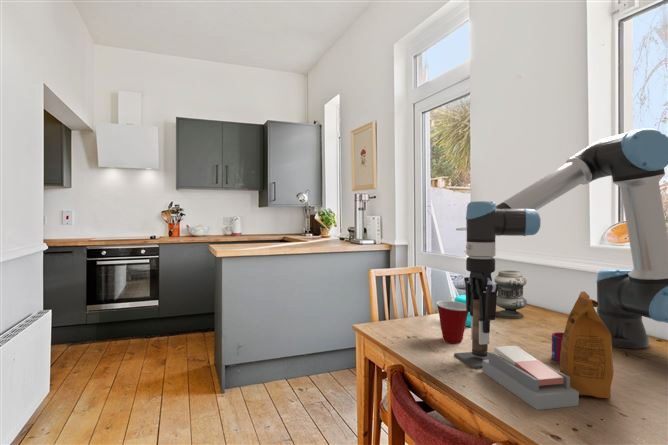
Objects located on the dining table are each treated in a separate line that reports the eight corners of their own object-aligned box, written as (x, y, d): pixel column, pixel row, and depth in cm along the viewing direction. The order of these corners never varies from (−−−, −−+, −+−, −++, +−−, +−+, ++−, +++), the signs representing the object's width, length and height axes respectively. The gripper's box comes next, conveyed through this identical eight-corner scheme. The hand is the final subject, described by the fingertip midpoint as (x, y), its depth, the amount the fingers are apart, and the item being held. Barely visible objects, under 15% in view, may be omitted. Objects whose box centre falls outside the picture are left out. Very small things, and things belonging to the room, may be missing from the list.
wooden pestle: (482, 351, 109) (483, 298, 109) (490, 356, 105) (491, 301, 105) (469, 352, 108) (470, 299, 108) (477, 357, 104) (478, 302, 104)
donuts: (486, 300, 138) (458, 299, 138) (486, 327, 138) (458, 327, 138) (477, 294, 148) (451, 294, 148) (477, 320, 148) (451, 320, 148)
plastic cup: (471, 348, 117) (471, 308, 117) (434, 344, 120) (434, 306, 120) (470, 337, 127) (471, 301, 127) (437, 334, 131) (437, 299, 130)
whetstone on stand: (517, 368, 101) (517, 347, 101) (578, 405, 81) (578, 379, 81) (482, 371, 99) (482, 350, 99) (536, 410, 80) (537, 383, 80)
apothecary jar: (502, 310, 164) (503, 268, 163) (532, 315, 154) (532, 271, 154) (488, 314, 156) (488, 270, 156) (518, 321, 147) (518, 274, 146)
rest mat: (485, 353, 113) (485, 351, 113) (507, 366, 103) (507, 363, 103) (454, 355, 111) (454, 353, 111) (473, 368, 101) (473, 366, 101)
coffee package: (605, 382, 93) (606, 291, 92) (616, 405, 82) (617, 302, 81) (557, 374, 97) (558, 288, 97) (562, 395, 86) (563, 297, 86)
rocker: (494, 352, 98) (494, 347, 97) (515, 350, 99) (516, 345, 98) (538, 385, 82) (539, 379, 82) (563, 383, 83) (563, 377, 83)
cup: (550, 354, 112) (551, 331, 112) (591, 360, 107) (592, 335, 107) (552, 362, 106) (552, 337, 106) (595, 368, 101) (596, 342, 101)
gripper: (453, 254, 114) (453, 333, 114) (484, 260, 98) (484, 352, 98) (476, 254, 115) (476, 332, 115) (511, 260, 99) (510, 350, 99)
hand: (480, 341), depth 107 cm, fingers closed on wooden pestle, 3 cm apart
